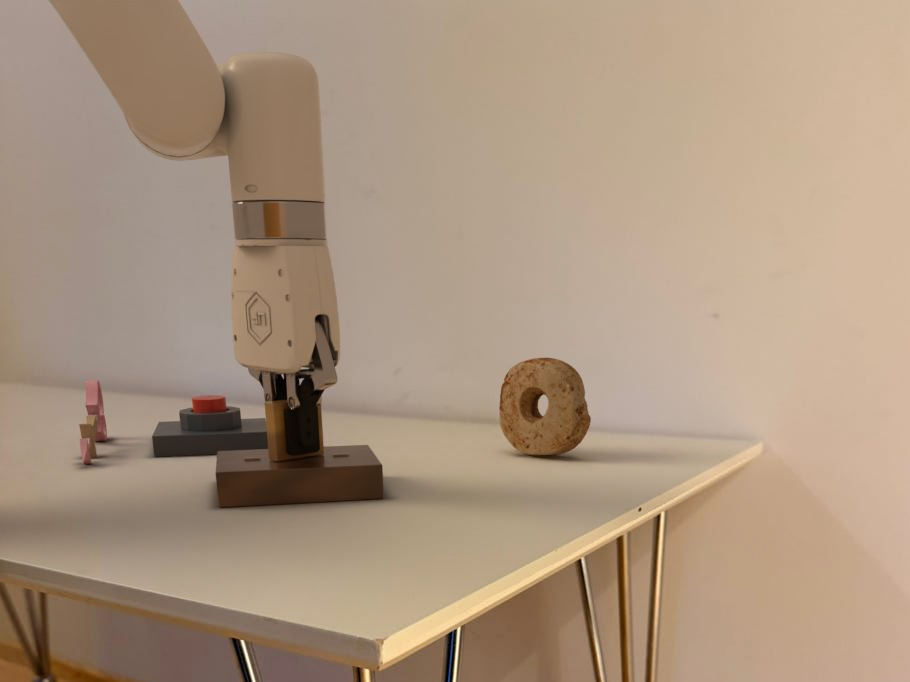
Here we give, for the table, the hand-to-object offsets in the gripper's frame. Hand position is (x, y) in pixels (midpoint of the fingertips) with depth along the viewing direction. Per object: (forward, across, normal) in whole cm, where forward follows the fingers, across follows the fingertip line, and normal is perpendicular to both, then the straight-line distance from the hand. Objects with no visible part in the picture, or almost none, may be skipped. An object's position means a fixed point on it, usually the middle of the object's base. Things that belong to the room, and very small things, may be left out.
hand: (296, 450), depth 88 cm
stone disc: (+4, +4, +28) cm, 29 cm away
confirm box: (+4, -26, +6) cm, 26 cm away
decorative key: (+4, -32, -5) cm, 32 cm away
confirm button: (0, -25, +6) cm, 26 cm away
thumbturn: (+1, 0, 0) cm, 1 cm away
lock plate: (+4, 0, 0) cm, 4 cm away
